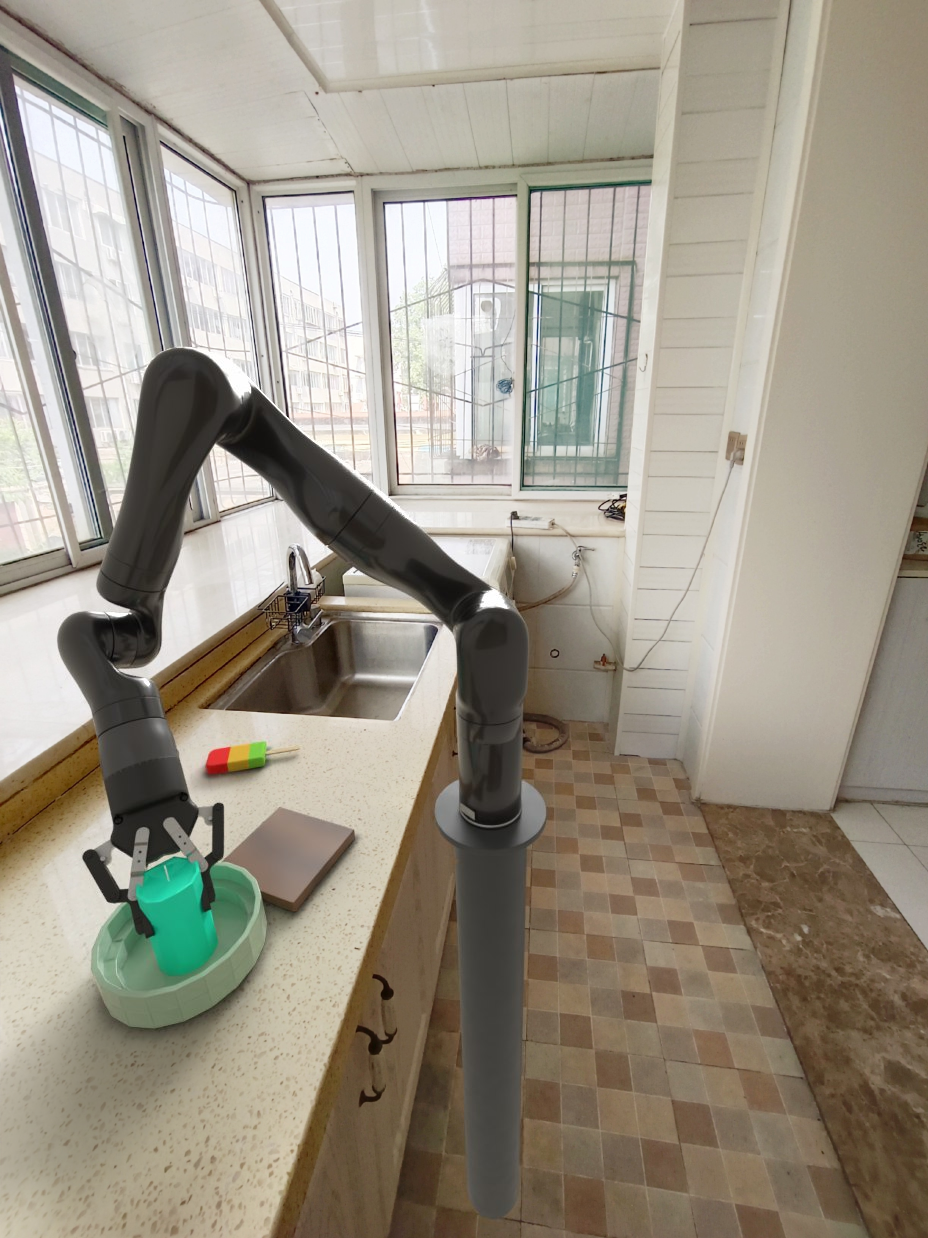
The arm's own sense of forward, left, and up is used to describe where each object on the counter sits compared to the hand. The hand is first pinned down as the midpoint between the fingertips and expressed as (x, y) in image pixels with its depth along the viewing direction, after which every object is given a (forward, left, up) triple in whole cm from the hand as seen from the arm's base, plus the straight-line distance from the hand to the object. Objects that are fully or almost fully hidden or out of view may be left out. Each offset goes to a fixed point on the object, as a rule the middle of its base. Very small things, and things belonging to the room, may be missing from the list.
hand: (180, 922), depth 56 cm
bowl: (-1, -2, -7) cm, 7 cm away
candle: (-1, -2, -6) cm, 6 cm away
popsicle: (-32, -21, -7) cm, 39 cm away
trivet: (-16, -1, -7) cm, 17 cm away
